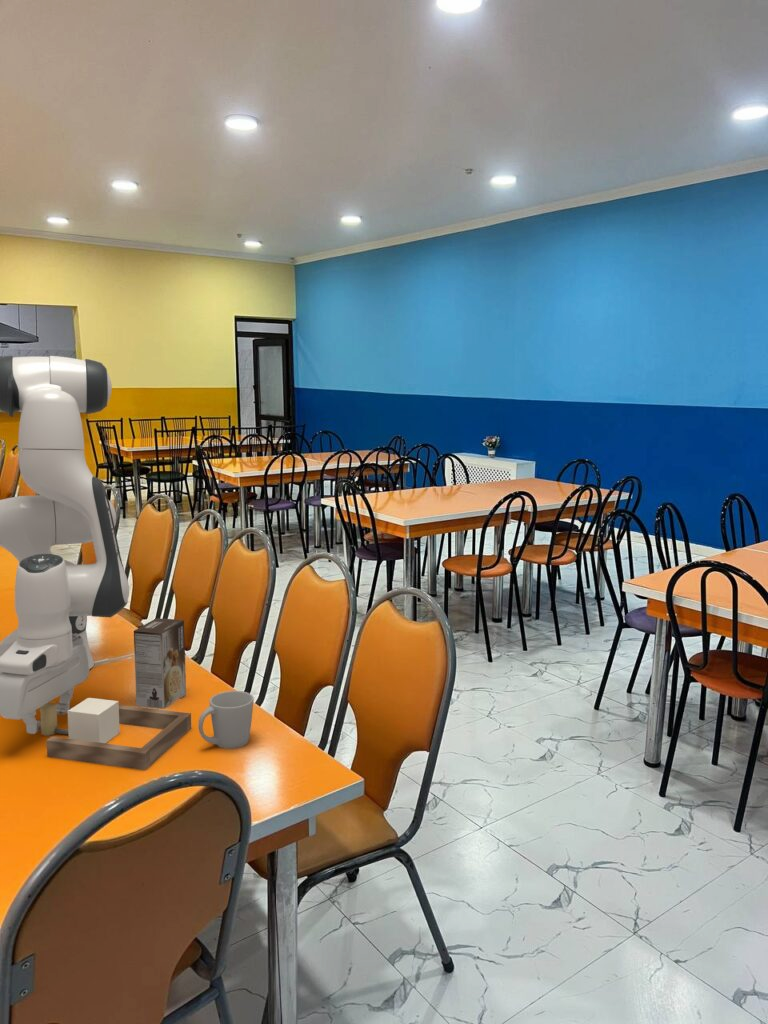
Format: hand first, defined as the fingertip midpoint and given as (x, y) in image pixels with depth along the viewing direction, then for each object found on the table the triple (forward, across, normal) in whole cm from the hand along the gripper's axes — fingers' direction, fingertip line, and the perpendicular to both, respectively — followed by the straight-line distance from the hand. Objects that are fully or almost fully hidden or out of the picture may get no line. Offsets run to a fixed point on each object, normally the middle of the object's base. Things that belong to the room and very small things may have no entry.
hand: (48, 722), depth 132 cm
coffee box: (+3, -19, +12) cm, 22 cm away
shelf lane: (+3, 0, +14) cm, 15 cm away
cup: (+3, -4, +32) cm, 32 cm away
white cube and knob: (+2, 0, +5) cm, 6 cm away
